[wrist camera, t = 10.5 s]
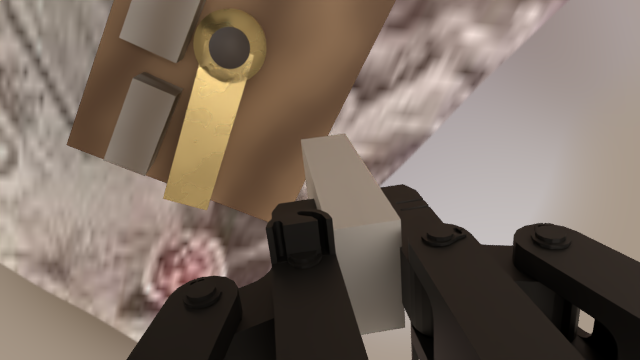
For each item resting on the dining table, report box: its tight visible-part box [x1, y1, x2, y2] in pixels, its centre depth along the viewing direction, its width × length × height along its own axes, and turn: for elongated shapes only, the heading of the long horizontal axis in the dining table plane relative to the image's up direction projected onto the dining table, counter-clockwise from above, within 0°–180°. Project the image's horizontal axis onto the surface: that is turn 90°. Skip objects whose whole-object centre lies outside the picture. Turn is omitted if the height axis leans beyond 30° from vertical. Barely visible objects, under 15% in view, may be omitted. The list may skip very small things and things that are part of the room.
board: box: [67, 0, 396, 222], centre depth 30 cm, size 17×24×6 cm
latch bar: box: [163, 8, 266, 210], centre depth 31 cm, size 13×4×4 cm, turn 160°
